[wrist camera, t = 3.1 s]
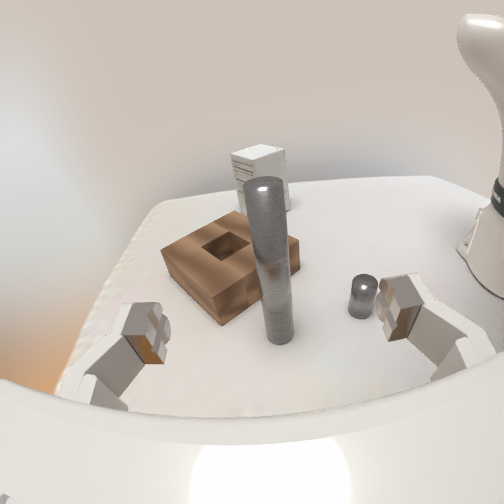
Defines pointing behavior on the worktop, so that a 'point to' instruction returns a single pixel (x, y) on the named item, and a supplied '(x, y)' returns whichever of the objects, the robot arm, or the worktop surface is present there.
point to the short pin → (362, 296)
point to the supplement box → (259, 168)
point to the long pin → (271, 253)
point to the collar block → (220, 266)
